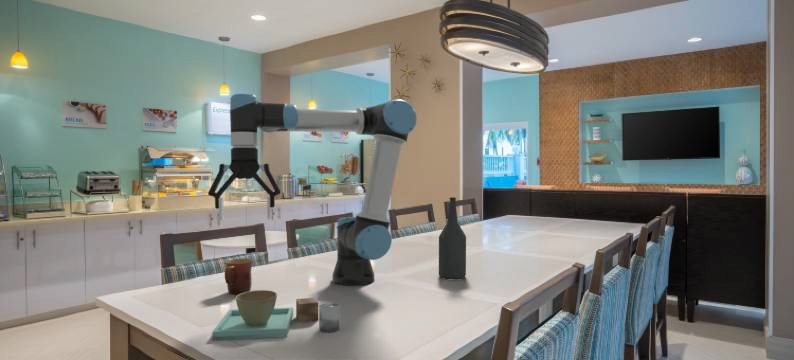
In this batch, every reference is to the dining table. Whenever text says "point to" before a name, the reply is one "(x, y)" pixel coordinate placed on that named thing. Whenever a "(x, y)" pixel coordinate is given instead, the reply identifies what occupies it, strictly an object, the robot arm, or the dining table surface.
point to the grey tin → (329, 317)
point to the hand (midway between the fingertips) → (245, 219)
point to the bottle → (452, 247)
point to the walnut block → (307, 309)
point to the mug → (238, 275)
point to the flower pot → (256, 306)
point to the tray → (238, 329)
